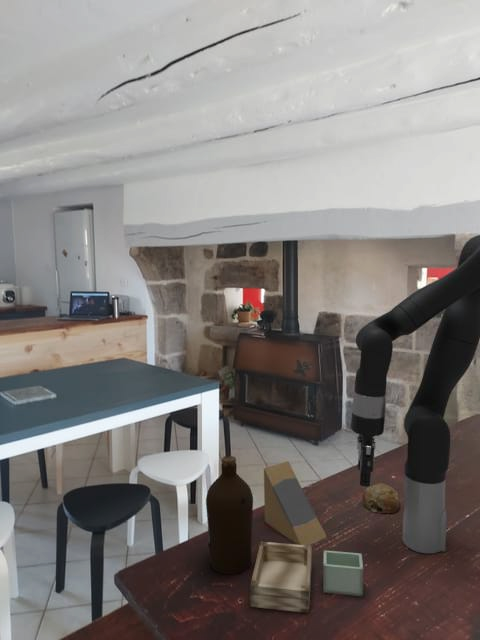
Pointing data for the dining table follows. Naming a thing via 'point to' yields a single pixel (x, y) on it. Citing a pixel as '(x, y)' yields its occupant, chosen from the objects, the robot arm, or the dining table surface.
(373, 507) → the bread roll
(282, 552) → the big crate
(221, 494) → the olive oil
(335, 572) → the box
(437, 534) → the robot arm
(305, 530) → the sandwich container
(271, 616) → the dining table surface
